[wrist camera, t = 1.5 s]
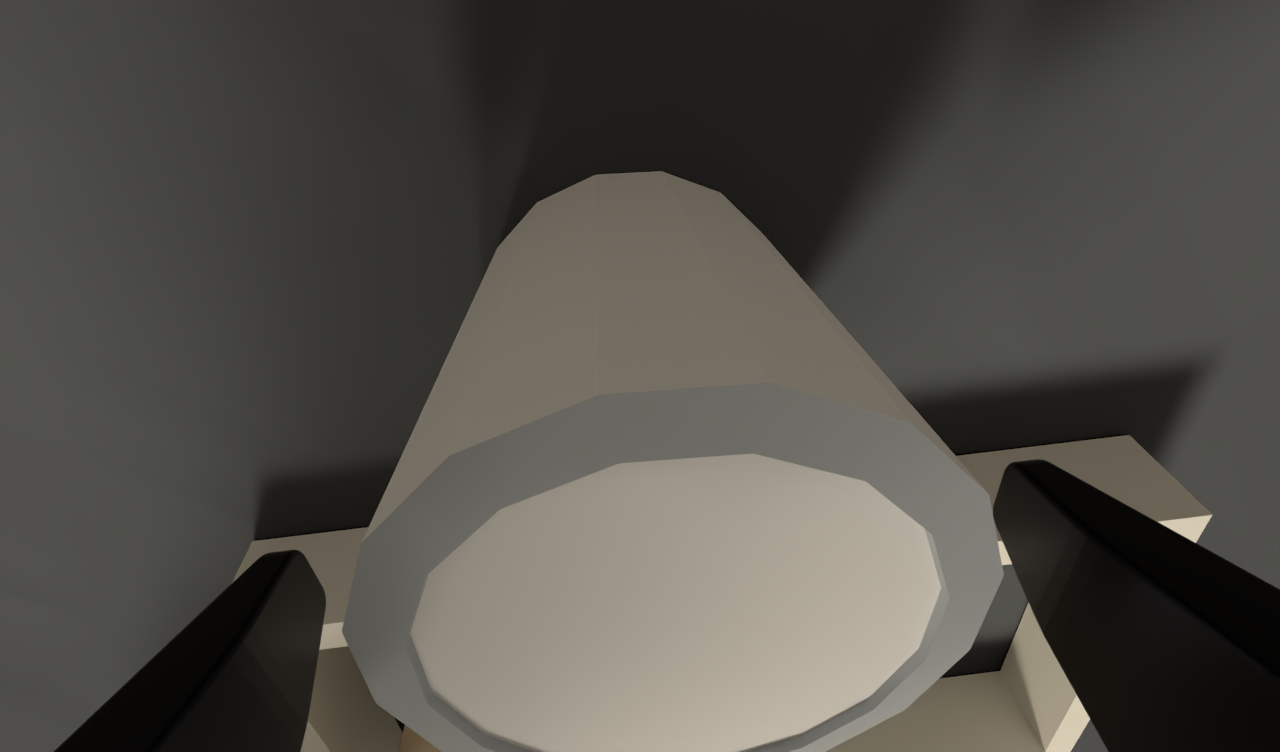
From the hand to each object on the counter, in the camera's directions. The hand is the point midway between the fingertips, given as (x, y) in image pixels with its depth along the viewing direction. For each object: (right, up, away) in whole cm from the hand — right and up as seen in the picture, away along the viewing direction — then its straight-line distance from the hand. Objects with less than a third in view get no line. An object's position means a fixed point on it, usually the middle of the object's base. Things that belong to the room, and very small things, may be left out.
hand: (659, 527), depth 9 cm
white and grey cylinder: (0, +3, +4) cm, 5 cm away
